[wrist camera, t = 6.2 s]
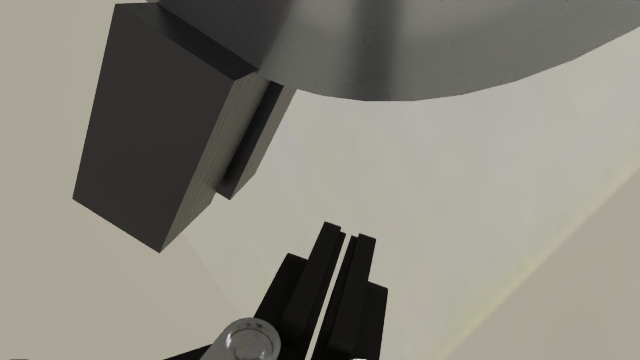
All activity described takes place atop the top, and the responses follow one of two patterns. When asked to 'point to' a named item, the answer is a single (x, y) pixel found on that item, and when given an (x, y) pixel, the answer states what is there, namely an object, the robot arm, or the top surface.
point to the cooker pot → (256, 138)
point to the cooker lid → (291, 79)
